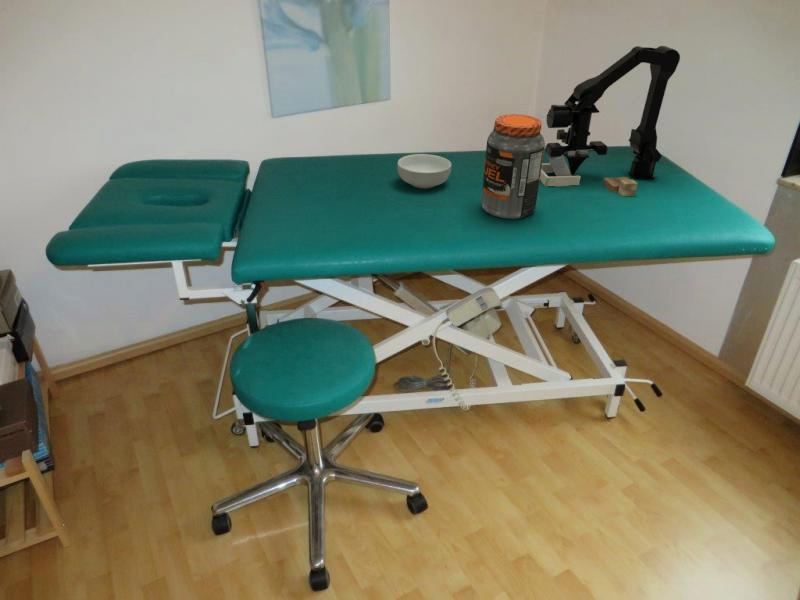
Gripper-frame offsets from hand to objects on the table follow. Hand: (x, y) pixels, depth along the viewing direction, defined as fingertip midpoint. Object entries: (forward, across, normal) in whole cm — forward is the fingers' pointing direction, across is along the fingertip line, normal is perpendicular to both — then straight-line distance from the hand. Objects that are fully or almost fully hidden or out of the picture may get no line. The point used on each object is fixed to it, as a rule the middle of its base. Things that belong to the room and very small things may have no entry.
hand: (572, 174), depth 196 cm
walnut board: (+2, -12, +9) cm, 15 cm away
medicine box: (0, +3, 0) cm, 3 cm away
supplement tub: (+1, +28, +22) cm, 35 cm away
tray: (+1, +5, 0) cm, 6 cm away
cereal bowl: (+1, +49, 0) cm, 49 cm away
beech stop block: (+1, -12, +14) cm, 19 cm away
